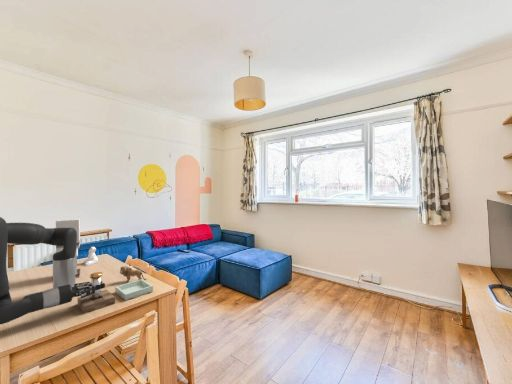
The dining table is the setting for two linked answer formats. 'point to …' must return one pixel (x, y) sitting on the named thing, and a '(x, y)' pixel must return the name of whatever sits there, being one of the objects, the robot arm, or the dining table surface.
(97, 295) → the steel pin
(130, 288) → the tray
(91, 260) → the sitting furry creature
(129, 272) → the lion figurine
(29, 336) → the dining table surface
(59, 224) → the tall grey pillar
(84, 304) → the block
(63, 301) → the robot arm
